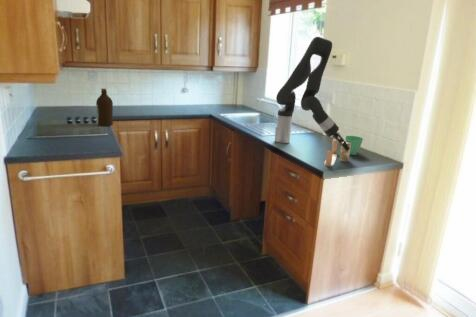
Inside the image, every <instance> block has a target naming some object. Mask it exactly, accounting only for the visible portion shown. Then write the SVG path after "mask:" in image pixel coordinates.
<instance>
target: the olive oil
mask: <svg viewBox="0 0 476 317" xmlns="http://www.w3.org/2000/svg"><path fill="white" fill-rule="evenodd" d="M100 92H101V94H100V95H99V97H98V98H97V99H96V102H95V103H96V115H97V125H98V126H99V127H111V126H113V125H114V124H113V120H114V119H113V115H114V114H113V112H114V111H113V108H114V107H113V104H114V103H113V100H112V98H111V97H110V96H109V95H108V92H107V88H101V91H100Z"/></svg>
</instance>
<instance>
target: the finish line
mask: <svg viewBox="0 0 476 317" xmlns="http://www.w3.org/2000/svg"><path fill="white" fill-rule="evenodd" d="M338 144H339V143H338V142H337V141H336V140H335V139H332V144H331V150H330V149H329V150H327V151H326V156H325V161H324V163H323V165H324V166H325V167H328V168H329V167H332V166H334V165H335V162H336V160H337V157H338V154H337V151H338Z"/></svg>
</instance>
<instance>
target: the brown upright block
mask: <svg viewBox="0 0 476 317" xmlns="http://www.w3.org/2000/svg"><path fill="white" fill-rule="evenodd" d="M345 142H346V141H345ZM343 143H344V142H342V144H343ZM346 144H347V145H348V147H349V148H351V143H348V142H346ZM339 151H340V152H339V158H338V161H340V162H341V163H344V162H345V163H348V162H349V161H350V160H349V159H350V149H349V150H348V151H346V150H345V148H344V147H343V146H342V145H340V150H339Z"/></svg>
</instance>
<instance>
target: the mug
mask: <svg viewBox="0 0 476 317" xmlns="http://www.w3.org/2000/svg"><path fill="white" fill-rule="evenodd" d="M344 140H345V142H348V143H351V148H350V154H349V156H355V155H357V154H358V152H359V150H360V147H361V146H362V143H363V140H364V138H363V137H361V136H356V135H346V136H345V139H344Z"/></svg>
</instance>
